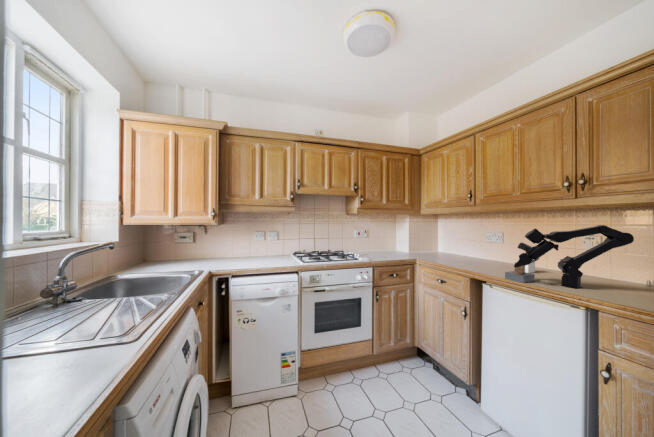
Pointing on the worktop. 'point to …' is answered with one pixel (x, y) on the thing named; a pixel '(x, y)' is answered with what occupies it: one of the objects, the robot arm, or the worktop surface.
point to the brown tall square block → (520, 270)
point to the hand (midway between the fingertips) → (516, 265)
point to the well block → (520, 277)
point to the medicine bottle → (530, 268)
